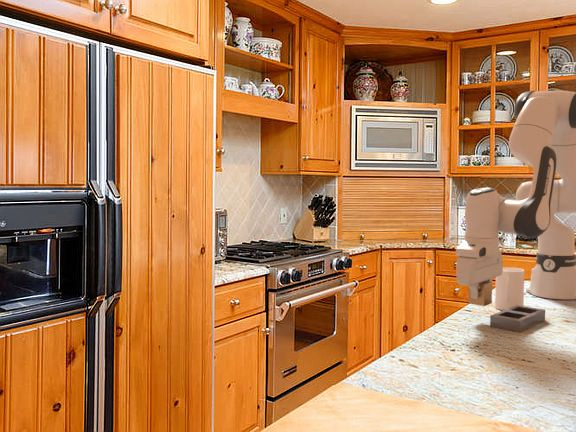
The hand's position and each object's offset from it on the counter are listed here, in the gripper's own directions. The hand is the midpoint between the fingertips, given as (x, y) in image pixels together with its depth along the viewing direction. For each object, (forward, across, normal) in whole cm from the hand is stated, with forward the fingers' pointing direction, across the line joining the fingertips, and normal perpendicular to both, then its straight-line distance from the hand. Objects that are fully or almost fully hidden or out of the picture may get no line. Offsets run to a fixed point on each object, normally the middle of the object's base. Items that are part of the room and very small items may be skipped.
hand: (480, 296), depth 153 cm
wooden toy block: (+2, 0, 0) cm, 2 cm away
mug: (+8, -19, 0) cm, 21 cm away
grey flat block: (+7, -5, +9) cm, 12 cm away
